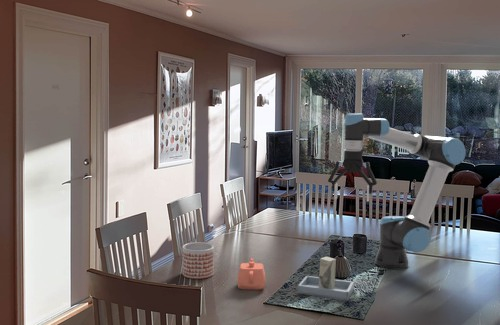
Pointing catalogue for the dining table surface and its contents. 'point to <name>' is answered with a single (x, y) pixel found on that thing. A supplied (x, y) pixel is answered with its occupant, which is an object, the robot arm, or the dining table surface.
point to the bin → (339, 292)
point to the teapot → (251, 276)
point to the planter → (198, 260)
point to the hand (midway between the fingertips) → (351, 200)
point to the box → (327, 273)
